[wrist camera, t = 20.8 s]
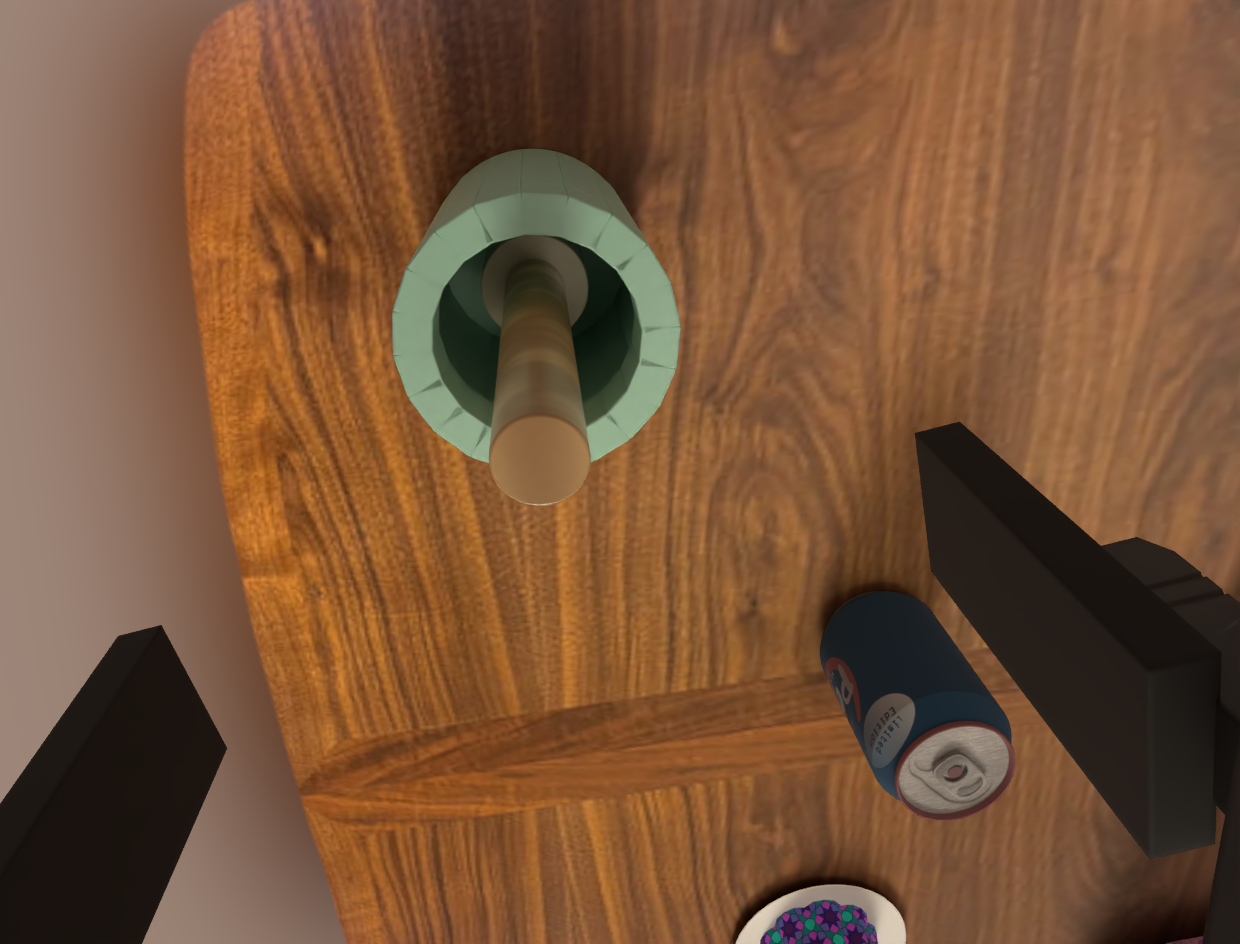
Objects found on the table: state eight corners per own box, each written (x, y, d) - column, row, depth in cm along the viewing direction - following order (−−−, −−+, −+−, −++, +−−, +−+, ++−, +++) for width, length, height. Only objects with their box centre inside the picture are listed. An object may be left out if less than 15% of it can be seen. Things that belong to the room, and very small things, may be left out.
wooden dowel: (567, 200, 43) (608, 350, 21) (591, 292, 45) (651, 519, 23) (474, 224, 43) (419, 399, 22) (501, 315, 45) (477, 563, 23)
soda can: (789, 633, 55) (854, 778, 44) (884, 557, 53) (975, 688, 43) (860, 700, 57) (939, 854, 46) (952, 630, 56) (1056, 771, 45)
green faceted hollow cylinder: (607, 125, 43) (644, 159, 29) (653, 321, 47) (704, 433, 33) (406, 178, 43) (349, 236, 29) (468, 370, 47) (444, 500, 33)
